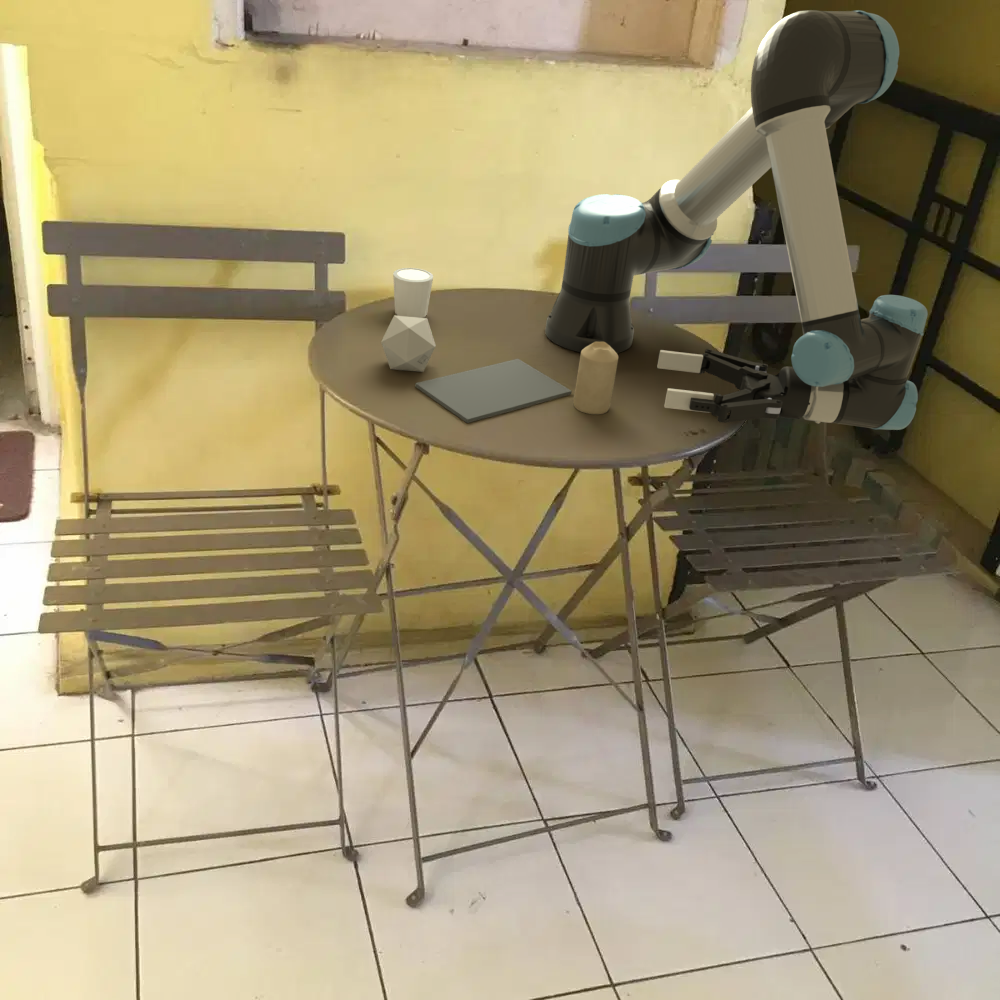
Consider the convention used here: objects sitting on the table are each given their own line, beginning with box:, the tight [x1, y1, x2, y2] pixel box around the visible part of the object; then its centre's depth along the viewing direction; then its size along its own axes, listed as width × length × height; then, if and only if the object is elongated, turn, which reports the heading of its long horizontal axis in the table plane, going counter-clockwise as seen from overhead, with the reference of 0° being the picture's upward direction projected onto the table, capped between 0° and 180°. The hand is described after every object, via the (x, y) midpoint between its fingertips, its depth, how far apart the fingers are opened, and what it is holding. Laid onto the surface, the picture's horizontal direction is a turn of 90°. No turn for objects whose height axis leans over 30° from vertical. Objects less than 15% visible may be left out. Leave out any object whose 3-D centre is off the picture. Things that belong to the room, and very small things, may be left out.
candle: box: [572, 342, 619, 415], centre depth 150 cm, size 6×6×10 cm
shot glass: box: [392, 267, 434, 318], centre depth 175 cm, size 7×7×7 cm
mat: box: [415, 358, 573, 424], centre depth 154 cm, size 20×13×1 cm, turn 129°
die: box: [380, 314, 436, 373], centre depth 156 cm, size 8×9×10 cm
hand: (662, 377), depth 150 cm, fingers open, 13 cm apart
